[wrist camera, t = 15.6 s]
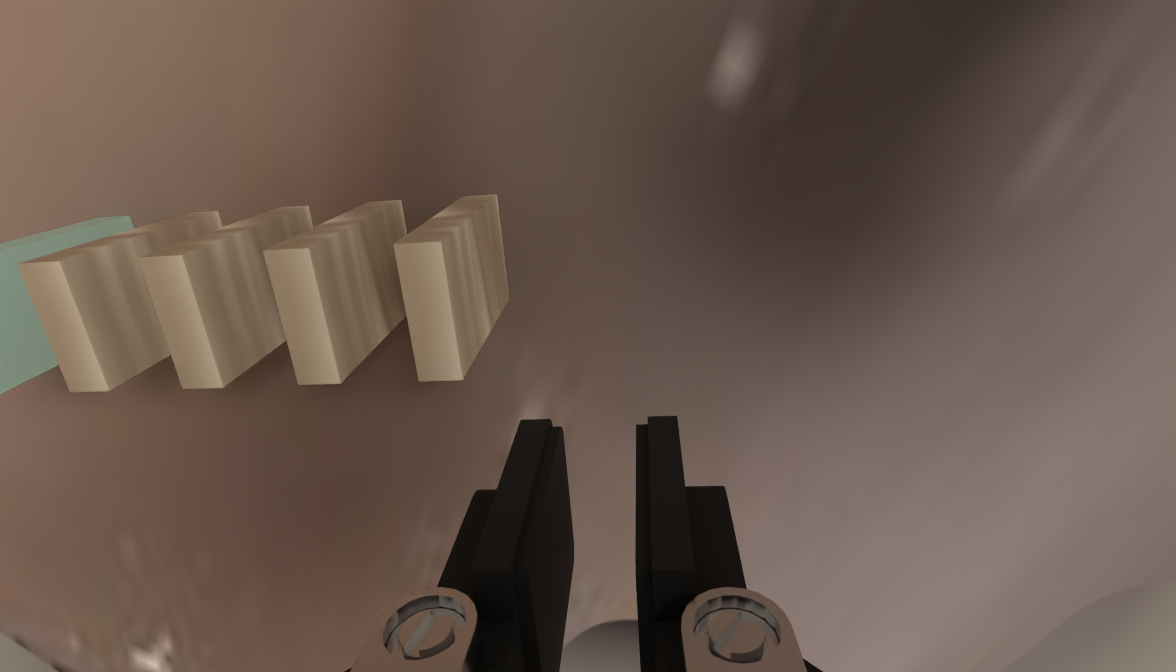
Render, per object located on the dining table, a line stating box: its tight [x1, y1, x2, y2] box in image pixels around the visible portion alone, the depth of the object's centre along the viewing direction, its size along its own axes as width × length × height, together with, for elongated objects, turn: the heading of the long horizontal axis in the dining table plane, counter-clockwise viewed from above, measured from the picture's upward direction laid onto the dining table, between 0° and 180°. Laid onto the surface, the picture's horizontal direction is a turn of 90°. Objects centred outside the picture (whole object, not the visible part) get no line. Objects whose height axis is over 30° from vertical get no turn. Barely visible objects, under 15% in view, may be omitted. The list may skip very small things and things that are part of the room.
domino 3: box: [138, 206, 313, 389], centre depth 27 cm, size 2×5×9 cm, turn 4°
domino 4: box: [263, 200, 407, 385], centre depth 26 cm, size 2×5×9 cm, turn 4°
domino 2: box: [17, 211, 222, 392], centre depth 27 cm, size 2×5×9 cm, turn 4°
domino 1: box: [0, 216, 134, 394], centre depth 28 cm, size 2×5×9 cm, turn 4°
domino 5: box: [393, 194, 510, 381], centre depth 26 cm, size 2×5×9 cm, turn 4°
